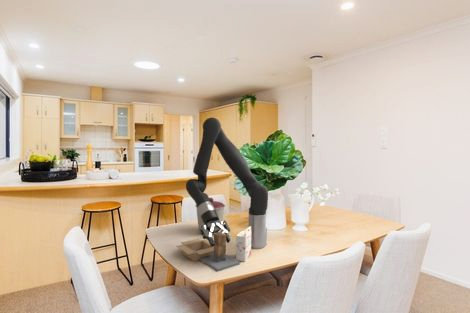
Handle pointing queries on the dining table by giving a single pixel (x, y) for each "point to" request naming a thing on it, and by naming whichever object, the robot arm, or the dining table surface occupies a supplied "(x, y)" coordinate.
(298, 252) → the dining table surface
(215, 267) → the mat
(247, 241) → the ink cartridge box
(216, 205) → the canister
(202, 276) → the dining table surface
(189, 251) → the carton
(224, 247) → the walnut block
